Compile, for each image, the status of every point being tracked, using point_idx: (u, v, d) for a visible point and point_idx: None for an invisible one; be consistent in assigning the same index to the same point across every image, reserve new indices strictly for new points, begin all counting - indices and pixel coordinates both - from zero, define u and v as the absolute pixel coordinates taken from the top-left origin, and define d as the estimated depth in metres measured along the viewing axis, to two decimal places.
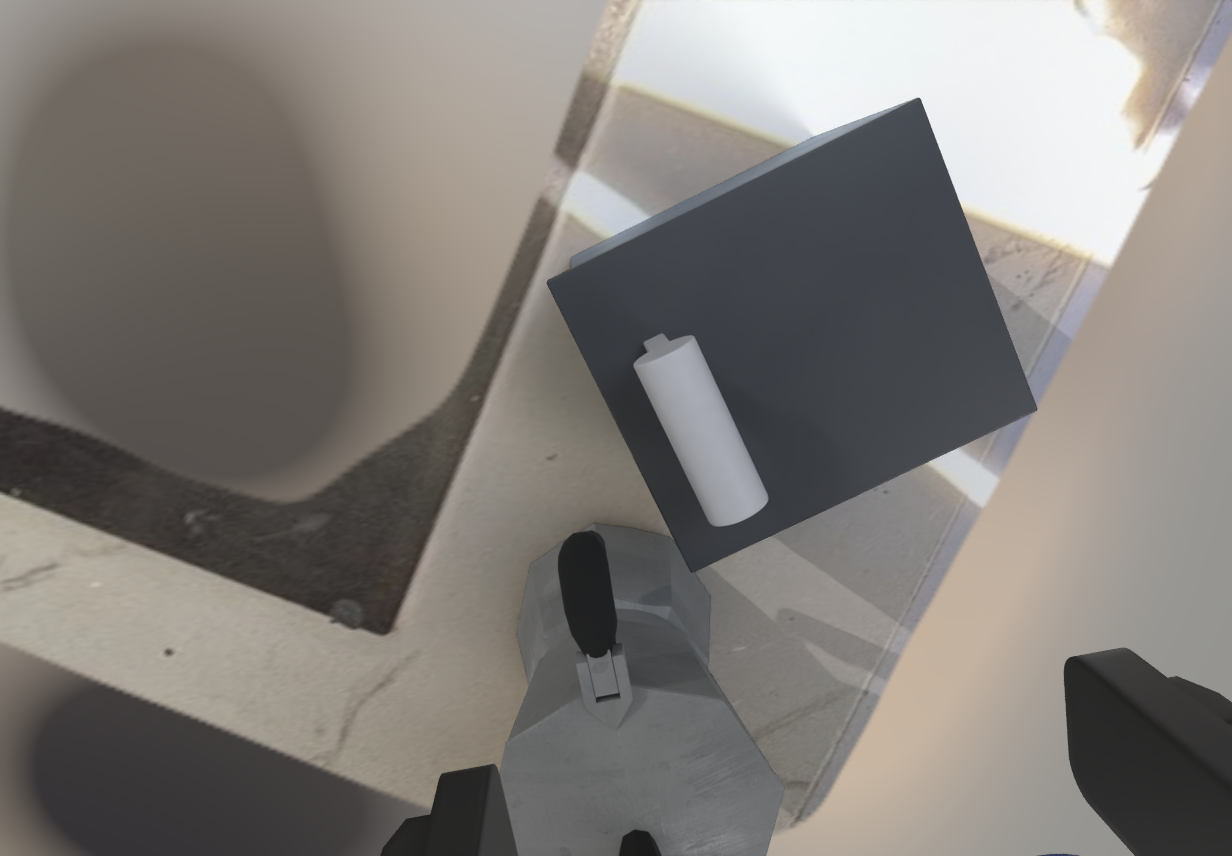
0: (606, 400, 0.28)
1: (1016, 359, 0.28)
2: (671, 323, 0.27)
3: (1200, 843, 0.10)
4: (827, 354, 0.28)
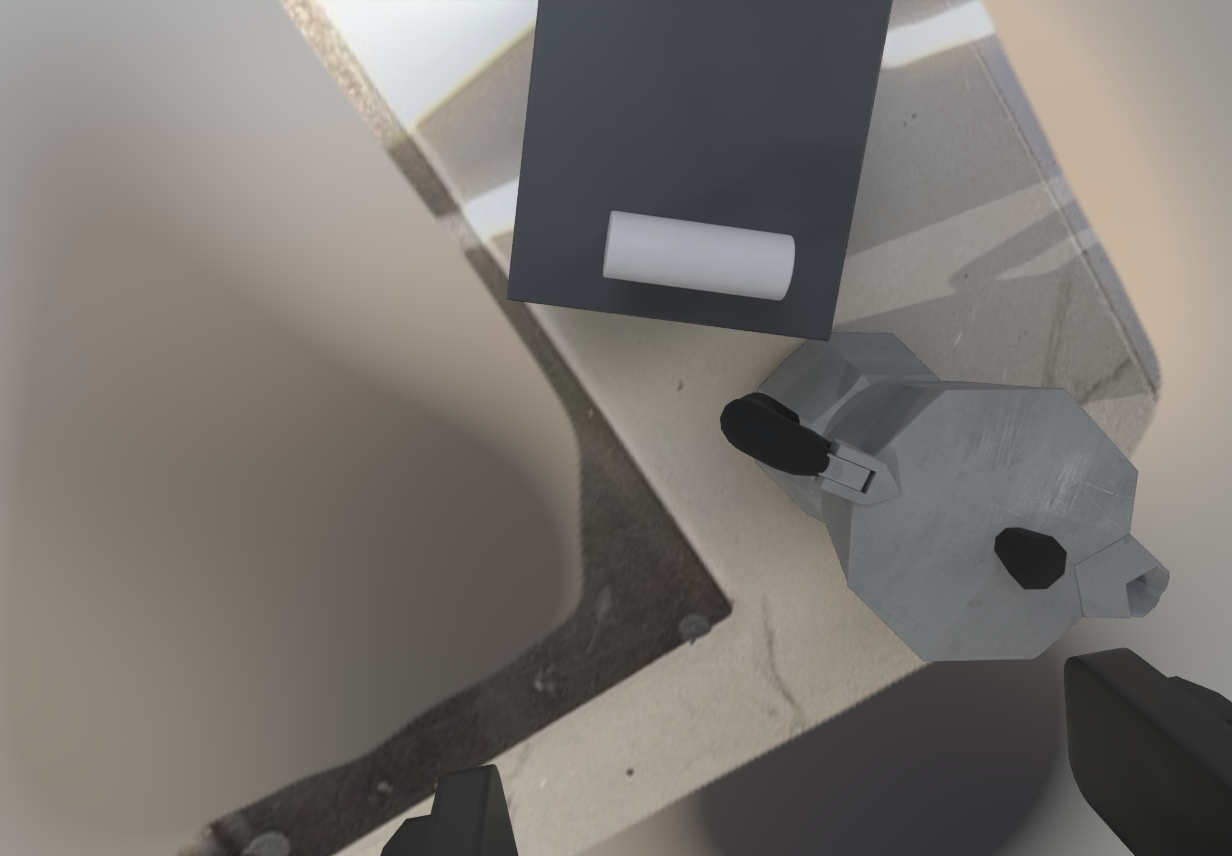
0: (634, 314, 0.29)
1: None
2: (606, 218, 0.28)
3: (1200, 842, 0.10)
4: (721, 99, 0.27)
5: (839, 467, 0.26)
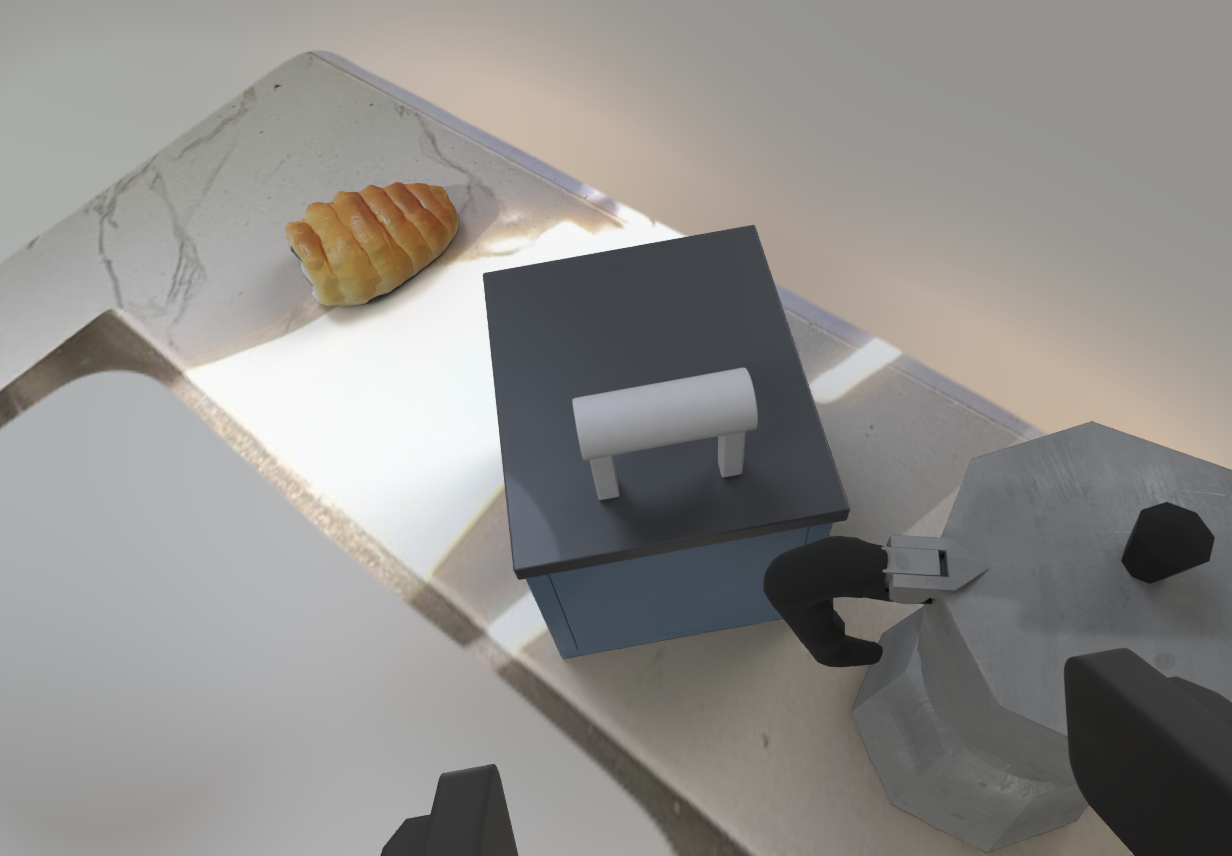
0: (644, 545, 0.27)
1: (707, 234, 0.34)
2: (590, 473, 0.29)
3: (1201, 843, 0.10)
4: (659, 359, 0.31)
5: (902, 557, 0.22)
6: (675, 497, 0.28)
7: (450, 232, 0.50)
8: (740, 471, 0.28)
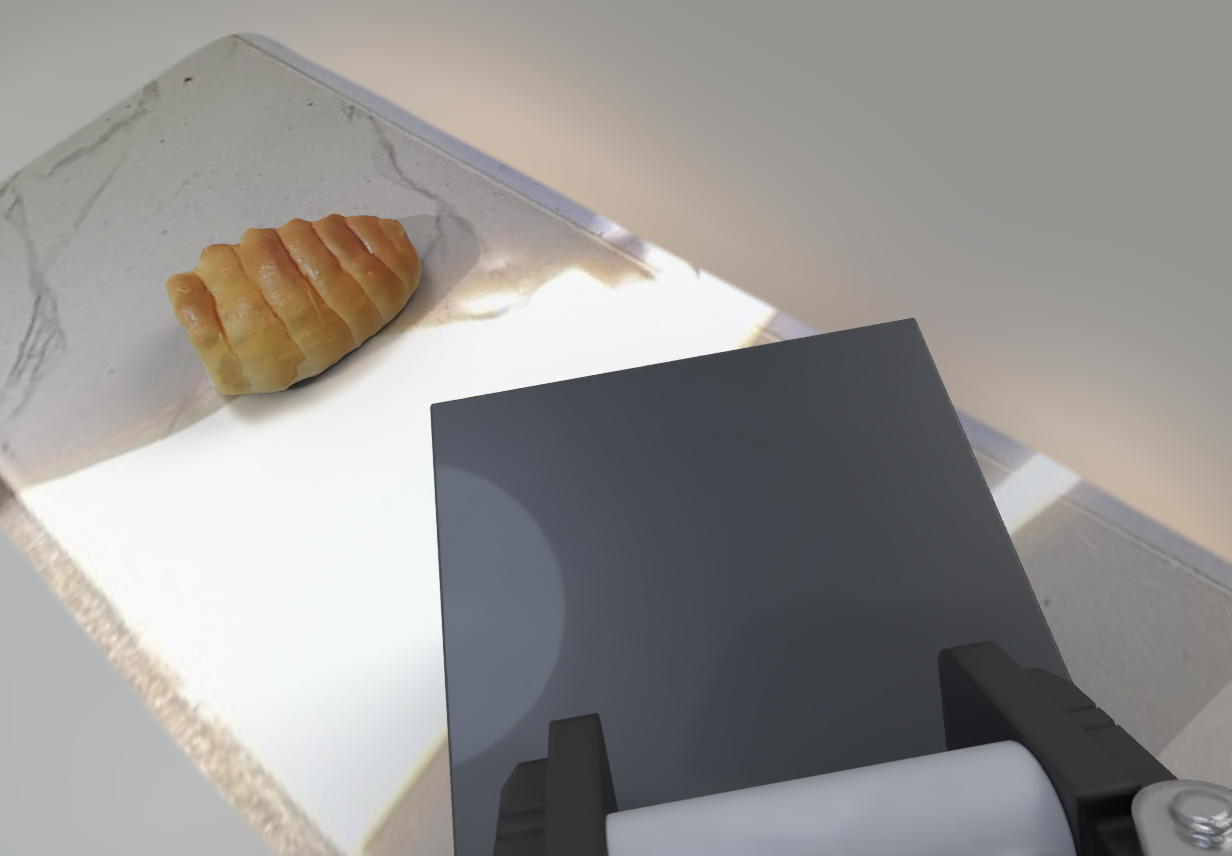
0: None
1: (830, 335, 0.19)
2: None
3: None
4: (760, 593, 0.16)
5: None
6: None
7: (408, 286, 0.35)
8: None
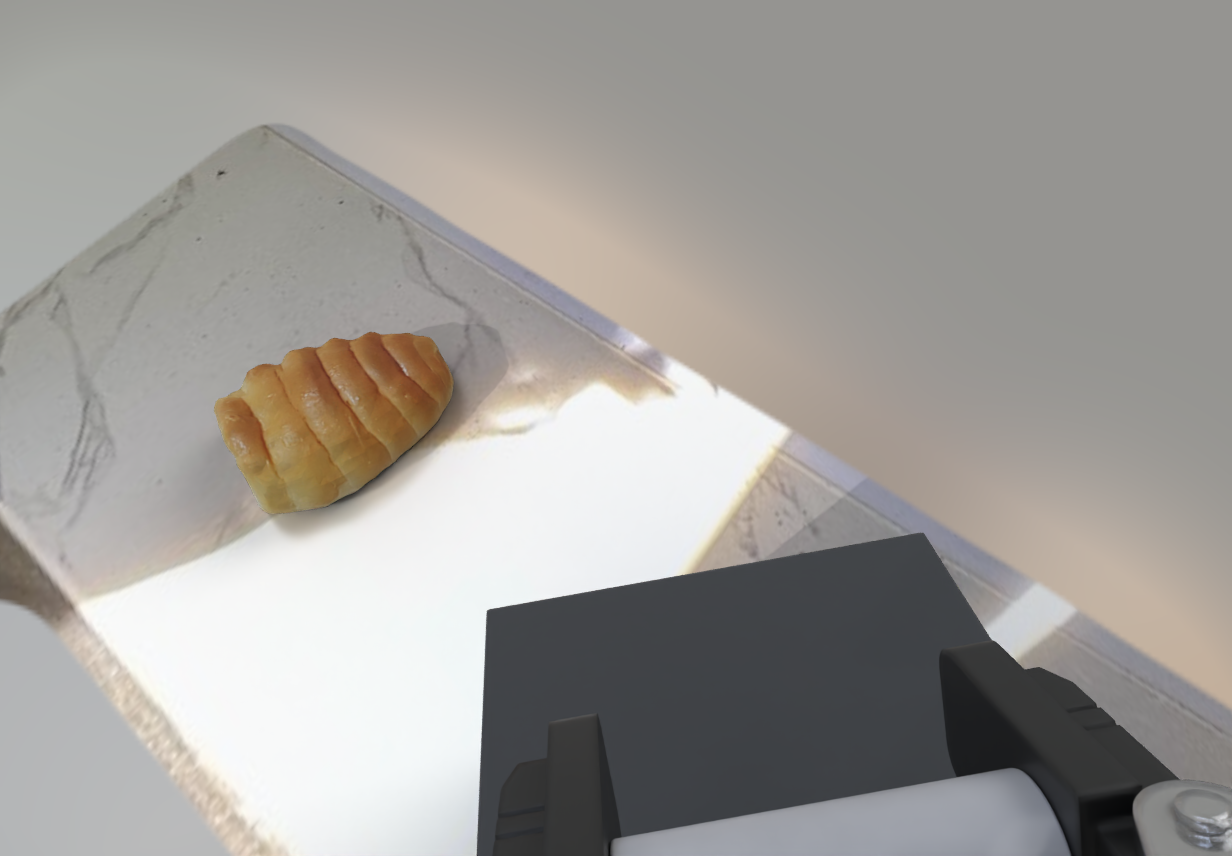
0: None
1: (847, 547, 0.21)
2: None
3: None
4: (789, 757, 0.16)
5: None
6: None
7: (441, 403, 0.37)
8: None
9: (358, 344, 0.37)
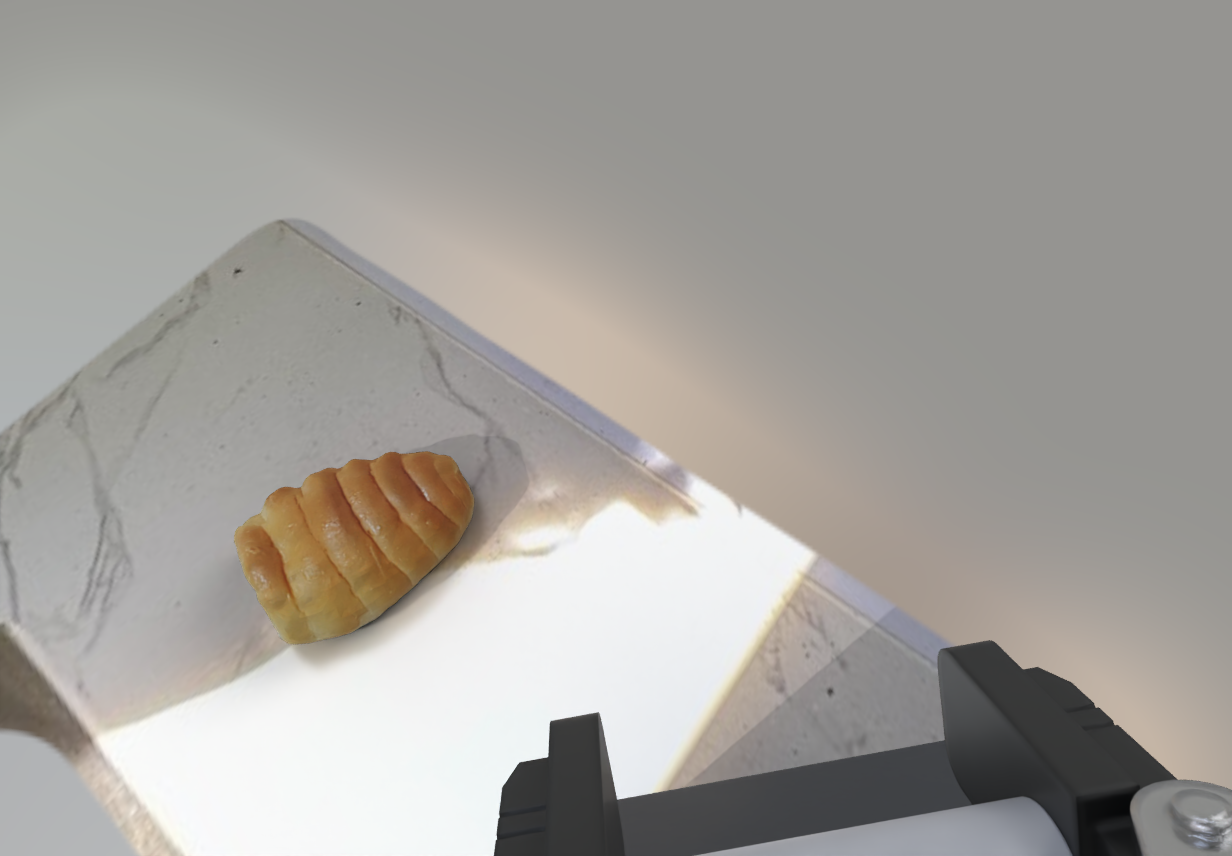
0: None
1: (888, 752, 0.21)
2: None
3: None
4: None
5: None
6: None
7: (462, 526, 0.36)
8: None
9: (378, 467, 0.36)
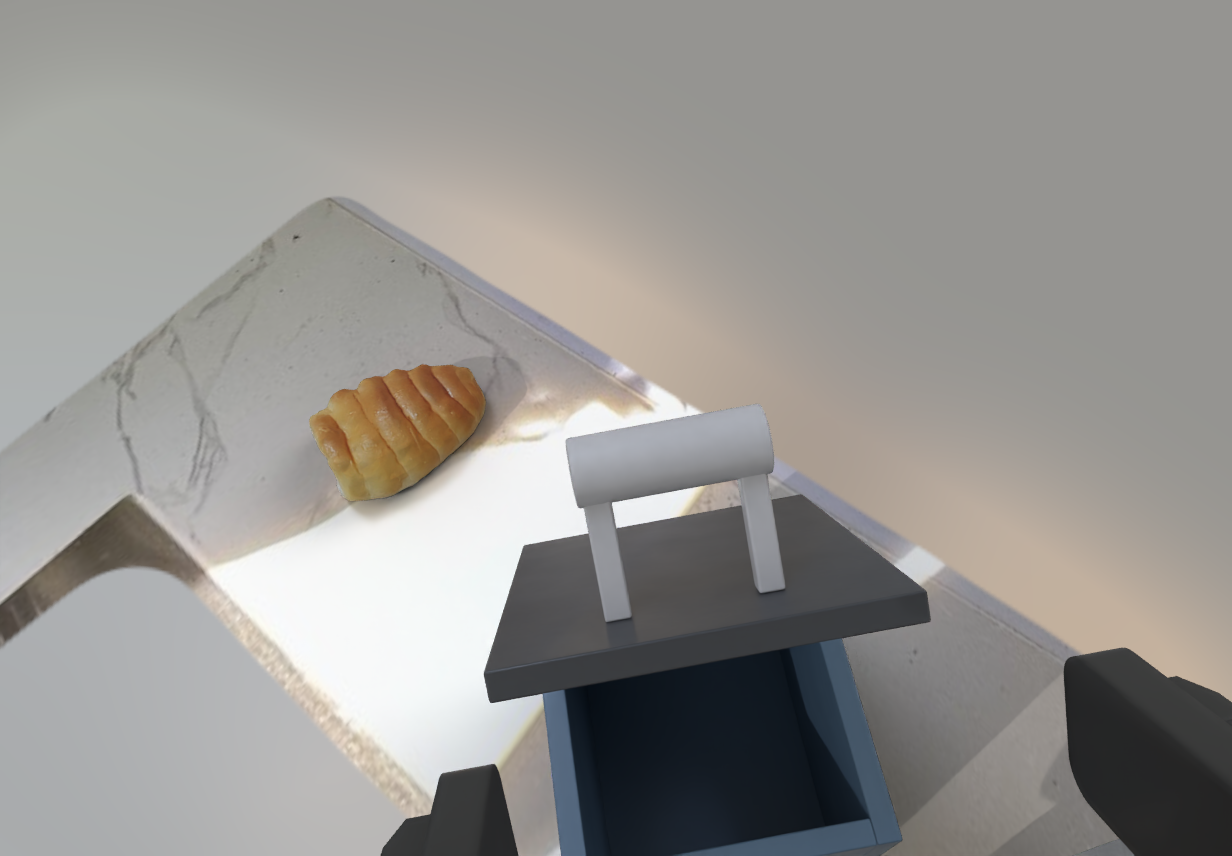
0: (655, 639, 0.21)
1: None
2: (600, 611, 0.24)
3: (1201, 842, 0.10)
4: (695, 553, 0.28)
5: None
6: (700, 611, 0.22)
7: (477, 418, 0.49)
8: (781, 579, 0.23)
9: (414, 374, 0.48)
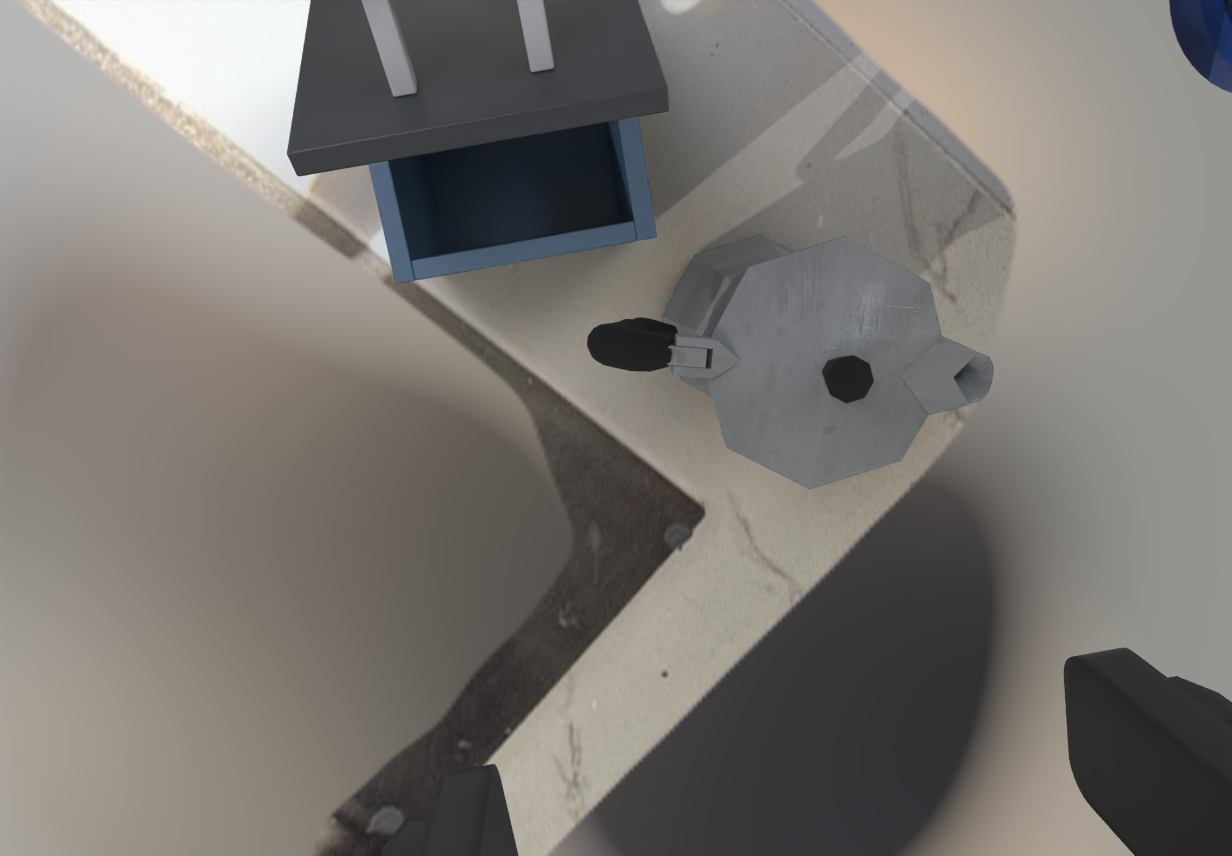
0: (434, 125, 0.24)
1: None
2: None
3: (1201, 843, 0.10)
4: None
5: (681, 354, 0.32)
6: (477, 90, 0.25)
7: None
8: (550, 61, 0.25)
9: None
